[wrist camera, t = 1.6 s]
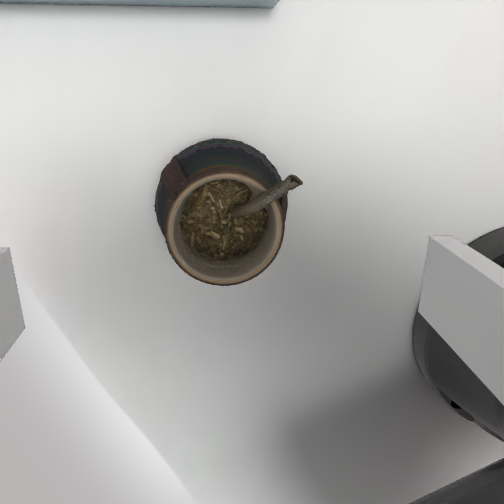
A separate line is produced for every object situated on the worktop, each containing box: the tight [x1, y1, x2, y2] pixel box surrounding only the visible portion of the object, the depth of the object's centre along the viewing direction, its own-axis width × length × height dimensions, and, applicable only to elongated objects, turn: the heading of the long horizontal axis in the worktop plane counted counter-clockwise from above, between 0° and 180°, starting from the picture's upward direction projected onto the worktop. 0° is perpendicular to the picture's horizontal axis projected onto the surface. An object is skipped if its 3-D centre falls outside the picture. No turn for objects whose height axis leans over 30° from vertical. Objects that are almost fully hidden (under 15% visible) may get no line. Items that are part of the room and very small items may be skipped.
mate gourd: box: [154, 138, 303, 286], centre depth 23 cm, size 7×8×10 cm
